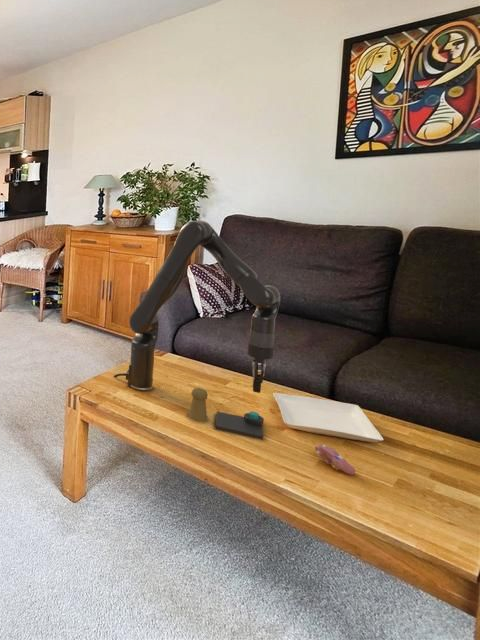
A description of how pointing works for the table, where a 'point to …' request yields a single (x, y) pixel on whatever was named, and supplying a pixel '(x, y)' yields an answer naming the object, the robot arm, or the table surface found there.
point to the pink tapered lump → (334, 459)
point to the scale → (240, 425)
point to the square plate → (326, 417)
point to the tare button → (253, 415)
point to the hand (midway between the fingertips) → (256, 390)
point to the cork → (198, 405)
